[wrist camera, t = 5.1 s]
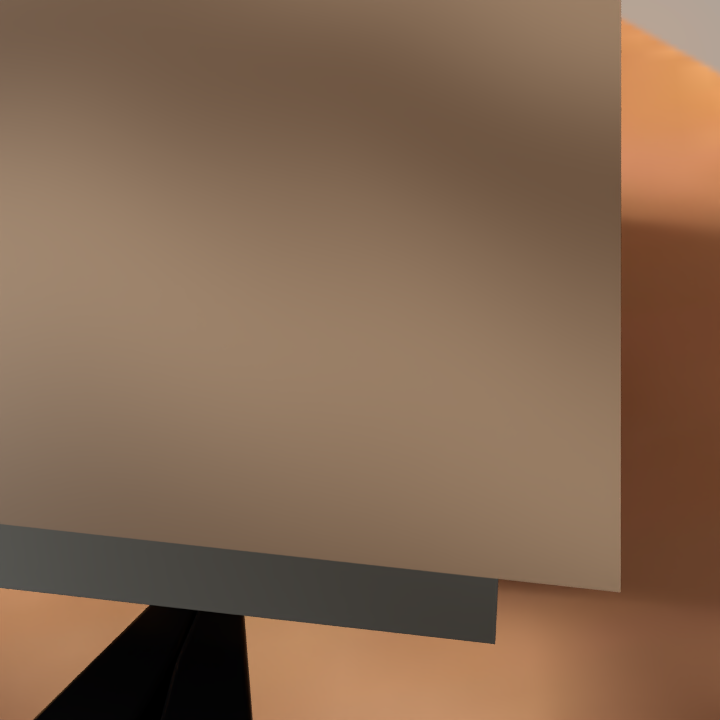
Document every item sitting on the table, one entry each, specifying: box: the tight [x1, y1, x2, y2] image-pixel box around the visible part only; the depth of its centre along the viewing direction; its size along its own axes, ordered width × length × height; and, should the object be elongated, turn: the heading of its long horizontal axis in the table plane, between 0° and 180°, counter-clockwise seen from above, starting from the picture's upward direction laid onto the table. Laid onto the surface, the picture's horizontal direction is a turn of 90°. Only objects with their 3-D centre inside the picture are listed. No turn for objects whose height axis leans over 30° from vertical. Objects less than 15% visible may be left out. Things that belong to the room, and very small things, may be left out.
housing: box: [0, 0, 621, 644], centre depth 13 cm, size 11×9×10 cm
